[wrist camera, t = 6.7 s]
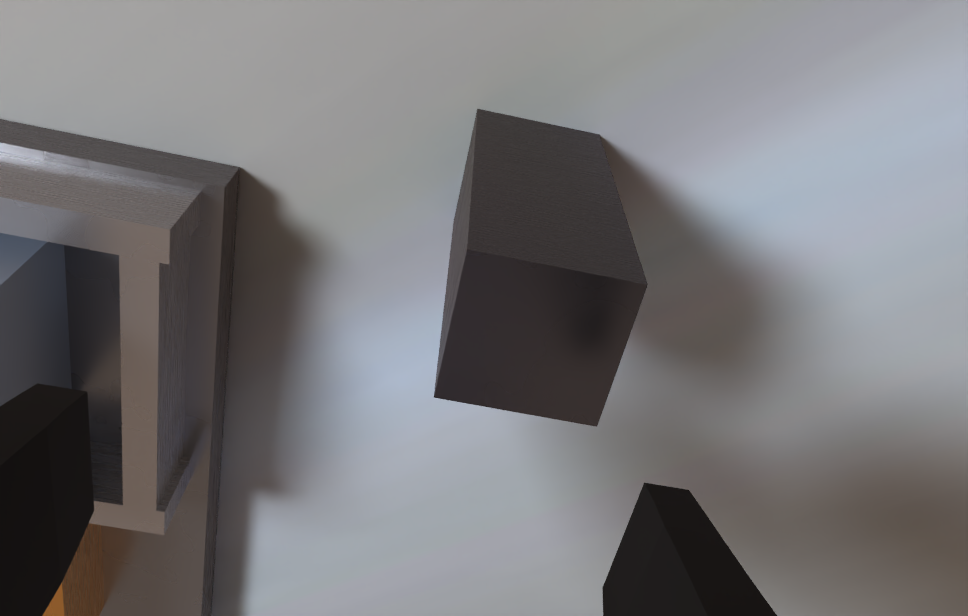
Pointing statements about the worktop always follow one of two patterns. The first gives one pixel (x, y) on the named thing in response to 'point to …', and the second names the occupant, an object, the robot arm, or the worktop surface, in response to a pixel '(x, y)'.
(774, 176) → the worktop surface
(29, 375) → the pale blue block
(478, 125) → the charcoal grey cuboid
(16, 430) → the robot arm
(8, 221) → the bin
